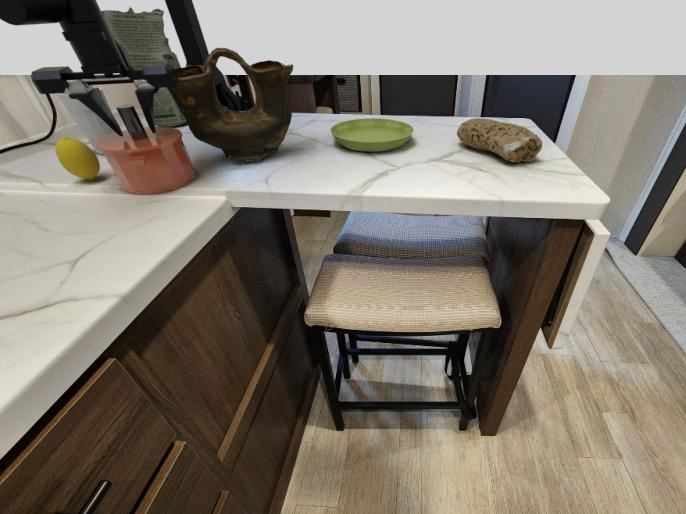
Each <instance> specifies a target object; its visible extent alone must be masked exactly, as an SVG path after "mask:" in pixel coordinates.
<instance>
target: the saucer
mask: <svg viewBox="0 0 686 514" xmlns="http://www.w3.org/2000/svg"><path fill="white" fill-rule="evenodd" d="M414 131H415V129H414V127H413V126H412V125H410V124H409V123H407V122H404V121H400V120H396V119H389V118H377V117H376V118H375V117H374V118H373V117H372V118H370V117H369V118H356V119H349V120H345V121H341V122H338V123H335V124H334V125H332V126H331V128H330V133H331V135H332V136H333V138H334V139H335V140H336V141H337V142H338V143H339V144H340V145H341V146H343V147H345V148H347V149H350V150H354V151H357V152H369V153H371V152H373V153H374V152H375V153H376V152H378V153H379V152H386V151H392V150H395V149H398V148H400V147H402V146H403V145H404V144H406V143H407V142H408V140H410V138H411V136H412V135H413V133H414Z"/></svg>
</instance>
